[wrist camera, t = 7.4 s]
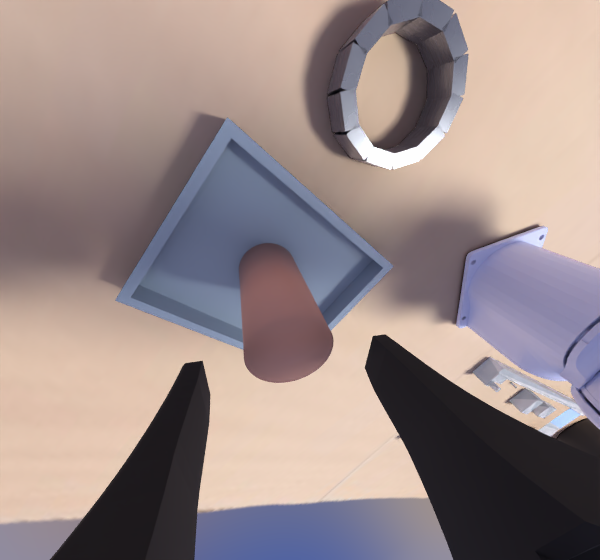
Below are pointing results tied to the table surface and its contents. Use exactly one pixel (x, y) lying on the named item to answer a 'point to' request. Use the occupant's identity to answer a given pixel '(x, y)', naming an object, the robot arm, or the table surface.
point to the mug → (582, 437)
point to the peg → (280, 317)
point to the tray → (246, 243)
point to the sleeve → (440, 78)
